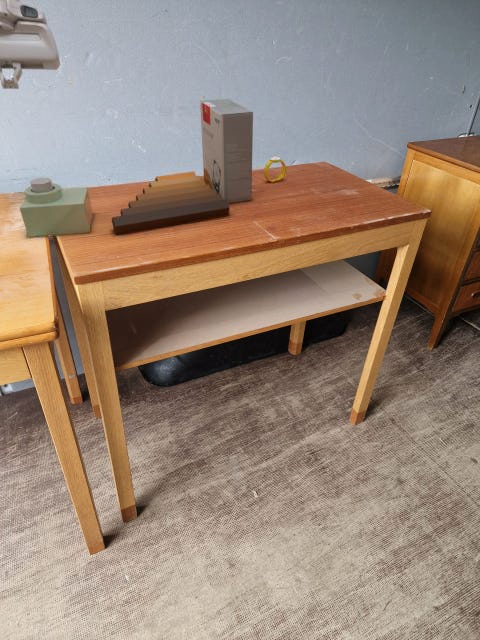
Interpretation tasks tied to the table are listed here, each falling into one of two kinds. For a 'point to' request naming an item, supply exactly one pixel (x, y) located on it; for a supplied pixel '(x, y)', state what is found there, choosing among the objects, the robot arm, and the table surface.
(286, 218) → the table surface
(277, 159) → the yellow toy ring
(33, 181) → the grey push button
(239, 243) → the table surface
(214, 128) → the hard drive box
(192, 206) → the pan flute
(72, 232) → the dispenser
